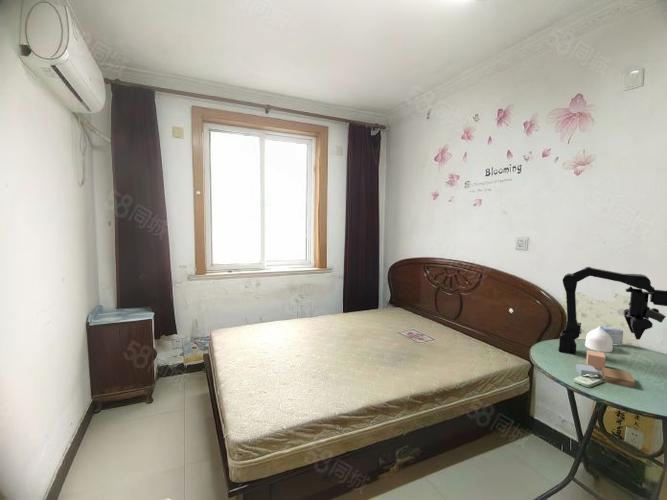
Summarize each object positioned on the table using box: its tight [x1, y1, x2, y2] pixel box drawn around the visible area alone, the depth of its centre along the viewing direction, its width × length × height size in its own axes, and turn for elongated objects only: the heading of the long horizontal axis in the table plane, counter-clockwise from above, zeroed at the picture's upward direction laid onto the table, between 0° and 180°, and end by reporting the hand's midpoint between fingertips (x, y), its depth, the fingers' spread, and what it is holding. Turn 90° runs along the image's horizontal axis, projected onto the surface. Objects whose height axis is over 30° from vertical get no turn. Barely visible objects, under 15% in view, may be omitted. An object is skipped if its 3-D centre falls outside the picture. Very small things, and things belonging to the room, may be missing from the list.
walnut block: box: [601, 367, 636, 389], centre depth 130 cm, size 9×9×3 cm
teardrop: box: [584, 325, 614, 353], centre depth 161 cm, size 11×11×12 cm
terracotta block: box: [585, 349, 607, 371], centre depth 142 cm, size 6×6×6 cm
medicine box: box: [601, 326, 624, 346], centre depth 166 cm, size 8×4×9 cm, turn 71°
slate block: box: [575, 363, 600, 377], centre depth 135 cm, size 6×6×3 cm
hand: (635, 336), depth 141 cm, fingers open, 9 cm apart
